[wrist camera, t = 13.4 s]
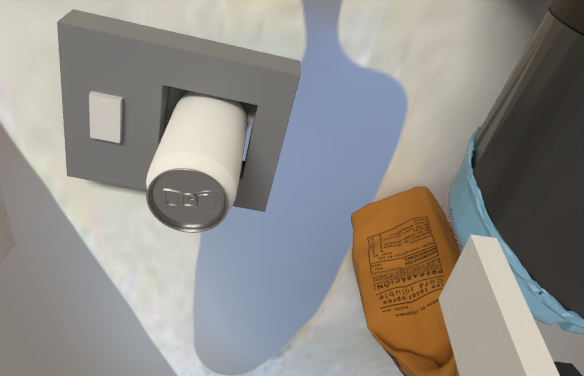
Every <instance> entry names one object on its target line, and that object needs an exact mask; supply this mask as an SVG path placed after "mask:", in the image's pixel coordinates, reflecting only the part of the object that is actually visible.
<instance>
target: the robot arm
mask: <svg viewBox="0 0 584 376" xmlns="http://www.w3.org/2000/svg"><path fill="white" fill-rule="evenodd" d="M449 210H450V214H451V216H452V218H453V219H452V223H453V229H454V232H455V234H456V237H457V239H458V241H459V243H460V245H461V247H462V249H463V251H462V253H461V255H460V257H459V259H458V261H457V263H456V265H455V267H454V269H453V271H452V273H451V275H450V277H449V279H448V281H447V283H446V285H445V287H444V289H443V291H442V293H441V295H440V297H439V302H440V305H441V309H442V313H443V316H444V320H445V324H446V328H447V331H448V335H449V339H450V342H451V346H452V350H453V353H454V357H455V361H456V364H457V368H458V372H459V375H460V376H582V375H581V374H580V372H578V370H577V369H576V368H575V367H574V366H573V364H570V363H562V362H554V361H553V360H552V357H551V355H550V353H549V351H548V349H547V347H546V345H545V342H544V340H543V338H542V336H541V333H540V331H539V329H538V327H537V325H536V323H535V320H534V318H535V319H537V320H539V321H540V322H543V323H545V324H547V325H551V324H554V323H556V322H557V323H558V325H559V326H560V327H561V328H562V329H563V330H564V331H568V332H572V333H576V334H584V0H554V2H553V4H552V5H551V6H550V8H549V9H548V11H547V13H546V14H545V16H544V18H543V20H542V21H541V23H540V25H539V27H538V28H537V30H536V32H535V34H534V35H533V37H532V39H531V41H530V42H529V44H528V46H527V48H526V49H525V51H524V53H523V55H522V56H521V58H520V60H519V62H518V63H517V65H516V67H515V69H514V71H513V72H512V74H511V76H510V78H509V79H508V81H507V83H506V85H505V86H504V88H503V90H502V92H501V93H500V95H499V97H498V99H497V100H496V102H495V104H494V106H493V107H492V109H491V111H490V113H489V114H488V116H487V118H486V120H485V121H484V123H483V125H482V126H481V127H478V129H477V130H476V131H475V132H474V134H473V136H472V138H471V140H470V141H469V144H468V147H467V152H466V156H465V158H464V160H463V162H462V164H461V166H460V168H459V171H458V173H457V174H456V176H455V178H454V180H453V183H452V185H451V189H450V193H449ZM15 244H16V243H15V240H14V236H13V233H12V229H11V226H10V222H9V219H8V215H7V211H6V208H5V204H4V201H3V197H2V193H1V190H0V264H1V263H2V261H3V260H4V259H5V257H6V256H7V255H8V253H9V252H10V250H11V249H12V248H13V246H14V245H15Z"/></svg>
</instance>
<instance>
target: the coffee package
mask: <svg viewBox="0 0 584 376" xmlns="http://www.w3.org/2000/svg"><path fill="white" fill-rule="evenodd" d="M351 222H352V226H353V249H352V260H353V266H354V271H355V275H356V278H357V282H358V286H359V291H360V296H361V300H362V305H363V310H364V314H365V318H366V322H367V327H368V329H369V331H370V332H371V333H372V335H373V336H374V337H375V339H376V340H377V341H378V342H379V343H380V344H381V346H382V347H383V348H384V350H385V351H386V352H387V353H388V355H389V356H390V357H391V358H392V359H393V361H394V362H395V364H396V366H397V367H398V368H399V370H400V371H401V372H402V374H403V375H404V376H460V375H459V372H458V368H457V364H456V361H455V357H454V353H453V350H452V346H451V342H450V339H449V335H448V331H447V328H446V324H445V320H444V316H443V313H442V309H441V305H440V302H439V297H440V295H441V293H442V291H443V289H444V287H445V285H446V283H447V281H448V279H449V277H450V275H451V273H452V271H453V269H454V267H455V265H456V263H457V261H458V259H459V257H460V255H461V252H460V250H459V247H458V244H457V241H456V239H455V236H454V234H453V231H452V229H451V226H450V224H449V222H448V220H447V218H446V216H445V214H444V212H443V210H442V208H441V207H440V205H439V204H438V202H437V200H436V199H435V197H434V196H433V195H432V193H431V192H430V191H429V189H428V188H426V187H415V188H413V189H410V190H408V191H405V192H401V193H398V194H395V195H393V196H390V197H388V198H385V199H382V200H380V201H377V202H373V203H370V204H368V205H365V206H364V207H362V208H361V209H359V210H358V211H356V212H354V213H352V215H351Z"/></svg>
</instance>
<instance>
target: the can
mask: <svg viewBox="0 0 584 376" xmlns="http://www.w3.org/2000/svg"><path fill="white" fill-rule="evenodd" d="M246 131H247V118H246V113H245V110H244V108H243V107H242V105H241V104H240V102H239V101H236V100H231V99H226V98H221V97H217V96H212V95H207V94H203V93H198V92H193V91H189V92H188V93H186V94H185V95H184V96H183V97H182V98H181V99H180V100H179V102H178V103H177V105H176V107H175V109H174V112H173V114H172V116H171V118H170V121H169V123H168V125H167V128H166V130H165V132H164V135H163V137H162V139H161V142H160V144H159V146H158V149H157V151H156V153H155V156H154V158H153V161H152V163H151V165H150V168H149V171H148V174H147V179H146V186H147V196H146V197H147V203H148V206H149V209H150V211H151V212H152V214H153V215H154V216H155V217H156V218H157V219H158V220H159V221H160V222H162V223H163V224H165V225H166V226H168V227H170V228H172V229H175V230H178V231H182V232H191V233H195V232H203V231H207V230H210V229H212V228H214V227H216V226H217V225H218V224H220V222H222V221H223V219H224V218H225V216H226V215H227V212H228V211H229V209H230V208H231V207H232V205H233V203H234V201H235V198H236V194H237V189H238V183H239V177H240V171H241V165H242V157H243V152H244V145H245V139H246Z"/></svg>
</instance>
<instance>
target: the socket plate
mask: <svg viewBox="0 0 584 376" xmlns="http://www.w3.org/2000/svg"><path fill="white" fill-rule="evenodd" d="M57 25H58V41H59V56H60V72H61V88H62V103H63V119H64V135H65V150H66V166H67V176H70V177H76V178H81V179H87V180H92V181H98V182H103V183H109V184H114V185H120V186H125V187H131V188H136V189H142V190H147V186H146V179H147V174H148V171H149V168H150V165H151V163H152V161H153V158H154V156H155V153H156V151H157V149H158V146H159V144H160V142H161V139H162V137H163V135H164V132H165V128H166V116H167V105H168V93H169V87H174V88H179V89H184V90H188V91H193V92H198V93H203V94H207V95H212V96H217V97H221V98H226V99H231V100H236V101H240V102H245V103H250V104H254V105H257V107H256V111H255V116H254V121H253V126H252V130H251V135H250V140H249V145H248V150H247V154H246V159H245V161H242V165H241V171H240V177H239V183H238V189H237V194H236V198H235V201H234V203H233V205H232V206H236V207H242V208H247V209H252V210H258V211H263V212H265V209H266V205H267V202H268V198H269V194H270V190H271V186H272V182H273V178H274V175H275V171H276V166H277V163H278V159H279V155H280V151H281V148H282V143H283V140H284V136H285V132H286V128H287V125H288V121H289V117H290V113H291V109H292V106H293V102H294V98H295V94H296V90H297V86H298V83H299V78H300V61H298V60H293V59H289V58H284V57H280V56H276V55H271V54H267V53H262V52H258V51H254V50H249V49H245V48H240V47H236V46H232V45H227V44H223V43H218V42H214V41H210V40H205V39H201V38H197V37H192V36H188V35H183V34H179V33H175V32H170V31H166V30H161V29H157V28H153V27H148V26H144V25H139V24H135V23H131V22H126V21H122V20H117V19H113V18H109V17H104V16H100V15H95V14H91V13H87V12H82V11H78V10H72V11H70V12H69V13H68V14H67V15H65V16H64V17H63V18H62V19H60V20H59V21H58V22H57Z"/></svg>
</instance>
